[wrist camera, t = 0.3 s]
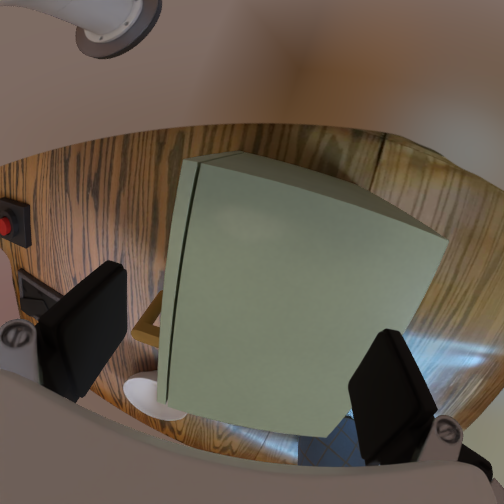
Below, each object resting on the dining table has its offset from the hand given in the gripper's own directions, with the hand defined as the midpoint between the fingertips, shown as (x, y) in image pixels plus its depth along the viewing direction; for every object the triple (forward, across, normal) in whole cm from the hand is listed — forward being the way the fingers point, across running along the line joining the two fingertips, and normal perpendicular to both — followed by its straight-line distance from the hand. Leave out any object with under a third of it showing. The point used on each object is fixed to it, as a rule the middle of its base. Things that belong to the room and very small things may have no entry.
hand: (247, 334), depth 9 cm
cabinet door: (+35, +9, +8) cm, 37 cm away
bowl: (+36, +14, +50) cm, 63 cm away
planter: (+36, -33, +59) cm, 76 cm away
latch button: (+32, +57, +18) cm, 68 cm away
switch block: (+36, +57, +18) cm, 70 cm away
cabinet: (+36, -4, +8) cm, 37 cm away
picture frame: (+36, +49, +39) cm, 73 cm away
